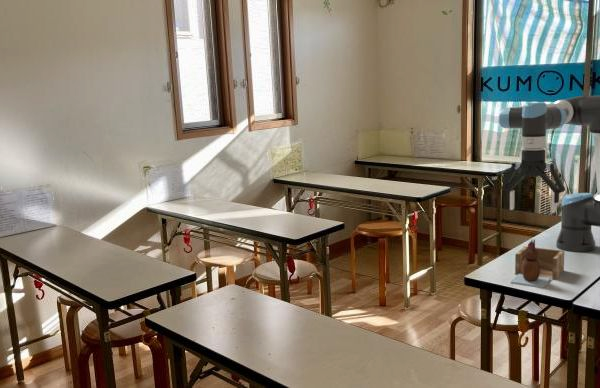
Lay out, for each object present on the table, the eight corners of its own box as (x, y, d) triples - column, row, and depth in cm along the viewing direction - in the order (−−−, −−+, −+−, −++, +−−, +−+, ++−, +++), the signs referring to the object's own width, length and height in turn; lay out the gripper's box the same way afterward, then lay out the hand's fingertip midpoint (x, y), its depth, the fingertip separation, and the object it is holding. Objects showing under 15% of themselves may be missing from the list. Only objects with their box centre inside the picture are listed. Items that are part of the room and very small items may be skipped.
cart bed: (524, 269, 225) (524, 246, 223) (563, 274, 217) (564, 250, 215) (514, 278, 215) (514, 254, 213) (555, 284, 207) (556, 259, 205)
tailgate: (518, 273, 213) (510, 281, 205) (550, 278, 207) (543, 286, 199) (518, 276, 213) (510, 284, 205) (550, 281, 207) (543, 289, 199)
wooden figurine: (541, 283, 202) (542, 240, 200) (523, 282, 203) (524, 240, 201) (537, 276, 209) (538, 235, 206) (520, 276, 210) (521, 235, 207)
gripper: (492, 149, 203) (492, 209, 206) (571, 150, 188) (569, 215, 192) (499, 147, 209) (499, 206, 212) (576, 148, 194) (574, 211, 198)
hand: (532, 210), depth 202 cm, fingers open, 13 cm apart
